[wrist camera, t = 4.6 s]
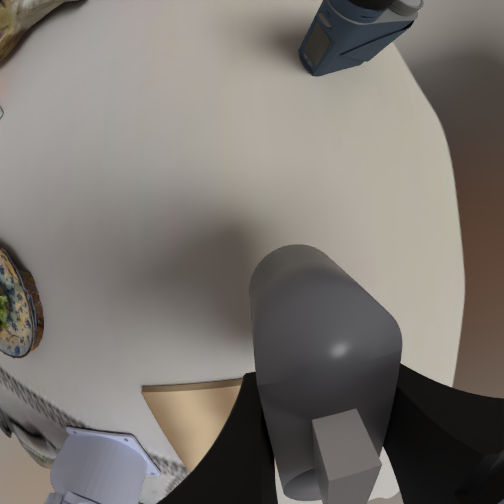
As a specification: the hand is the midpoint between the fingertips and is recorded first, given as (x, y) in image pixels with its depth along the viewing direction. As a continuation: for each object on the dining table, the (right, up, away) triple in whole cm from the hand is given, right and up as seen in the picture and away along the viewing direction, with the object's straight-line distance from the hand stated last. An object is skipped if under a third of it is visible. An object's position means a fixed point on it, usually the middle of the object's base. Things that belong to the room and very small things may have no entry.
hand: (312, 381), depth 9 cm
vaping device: (+3, +18, +5) cm, 18 cm away
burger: (-25, +1, +8) cm, 27 cm away
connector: (0, +1, +2) cm, 2 cm away
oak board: (-4, -11, +12) cm, 17 cm away
